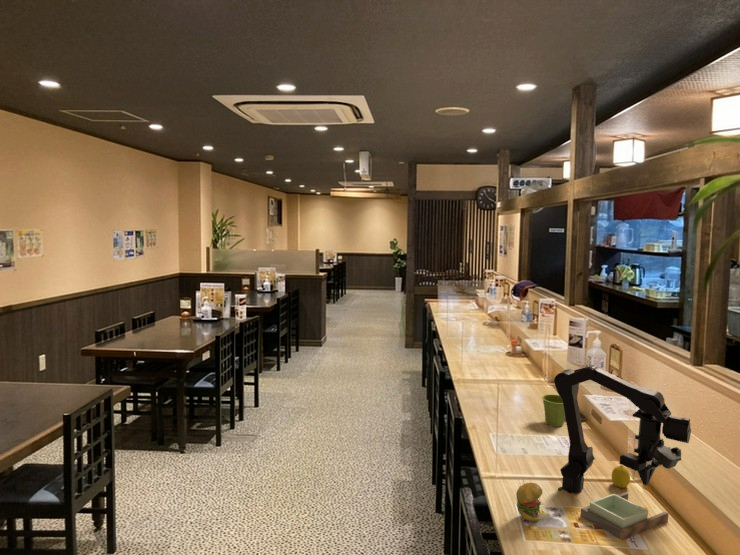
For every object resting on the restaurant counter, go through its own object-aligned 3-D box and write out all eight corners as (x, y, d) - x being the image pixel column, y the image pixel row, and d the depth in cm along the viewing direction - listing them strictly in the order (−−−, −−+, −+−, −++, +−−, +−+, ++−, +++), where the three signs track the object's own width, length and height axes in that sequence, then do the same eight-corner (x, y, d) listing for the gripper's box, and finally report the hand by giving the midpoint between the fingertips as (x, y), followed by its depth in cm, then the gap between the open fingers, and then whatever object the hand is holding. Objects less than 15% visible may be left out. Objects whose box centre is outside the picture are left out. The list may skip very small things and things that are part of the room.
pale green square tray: (622, 535, 154) (624, 520, 154) (588, 516, 164) (590, 502, 163) (646, 525, 160) (648, 510, 160) (612, 507, 169) (613, 493, 169)
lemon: (606, 486, 185) (608, 463, 185) (619, 483, 188) (621, 460, 187) (620, 494, 180) (622, 470, 180) (632, 491, 183) (634, 467, 182)
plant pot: (536, 424, 240) (538, 399, 239) (545, 417, 250) (546, 392, 249) (564, 431, 234) (566, 405, 232) (572, 423, 243) (574, 398, 242)
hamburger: (542, 527, 159) (544, 487, 158) (516, 524, 160) (518, 484, 159) (538, 513, 167) (541, 474, 166) (513, 510, 168) (516, 472, 167)
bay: (622, 543, 152) (623, 531, 152) (580, 519, 164) (581, 508, 164) (667, 524, 163) (668, 512, 163) (624, 502, 175) (625, 492, 174)
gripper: (656, 449, 154) (651, 504, 155) (694, 437, 163) (690, 489, 165) (620, 435, 163) (616, 487, 165) (658, 425, 173) (654, 473, 174)
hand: (645, 484), depth 167 cm, fingers closed
